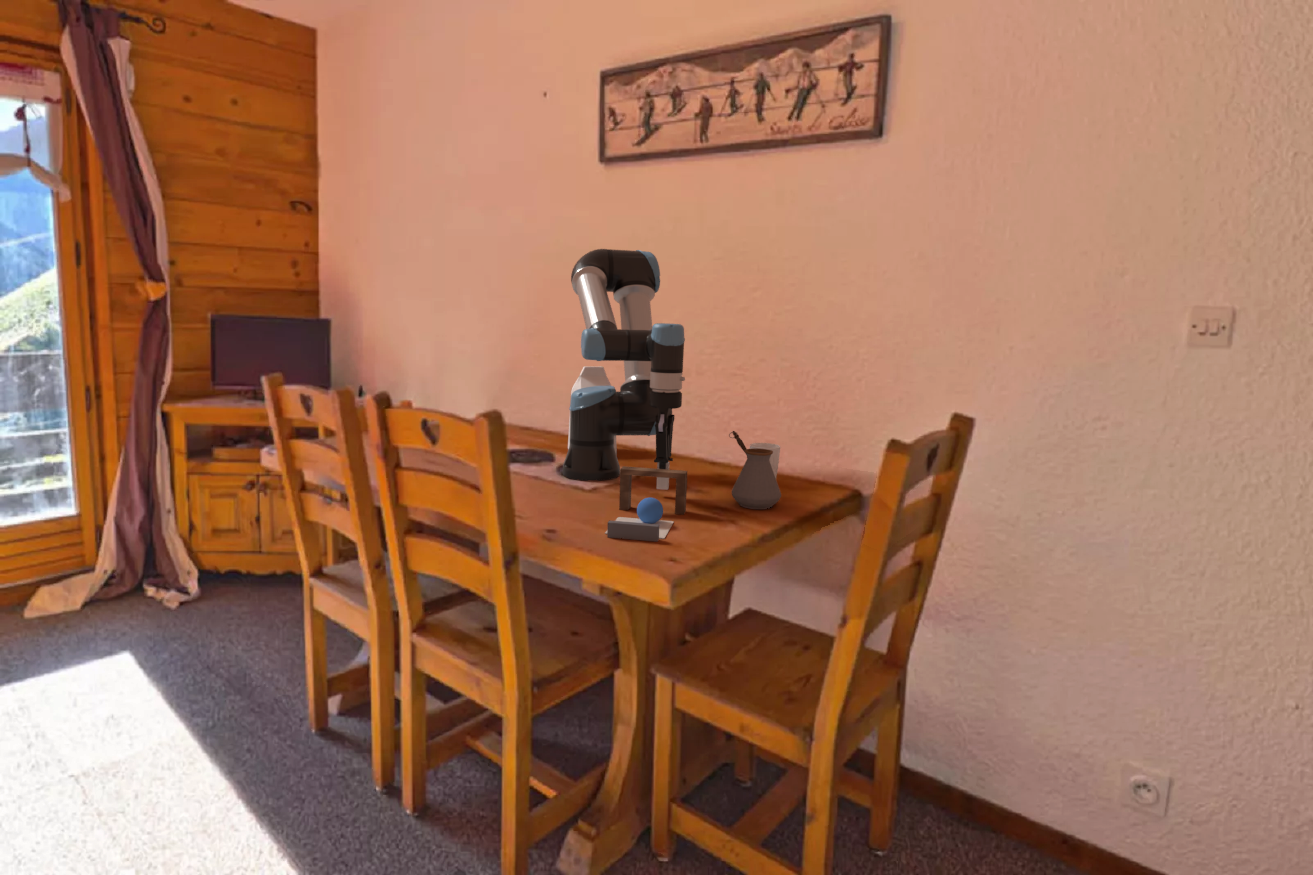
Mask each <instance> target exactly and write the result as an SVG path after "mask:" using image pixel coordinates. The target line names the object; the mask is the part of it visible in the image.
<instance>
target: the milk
mask: <svg viewBox="0 0 1313 875" xmlns="http://www.w3.org/2000/svg"><path fill="white" fill-rule="evenodd" d="M593 386H612V384H611V382H610V379H609V378H608V376H607V373H606V371H605V368H604V366H582V369H581V371H580V373H579V376H578V377H577V379H576V380H575V382H574V384H573V385H572V388H571V391H570V396H571V395H572V393H573V392H574V391H576V390H578V389H581V388H586V387H593ZM569 446H570V418H569V420H568V439H567V450H568V449H569ZM614 449H615V452H616V455H618V450H617V436H614Z"/></svg>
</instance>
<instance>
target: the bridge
mask: <svg viewBox="0 0 1313 875" xmlns="http://www.w3.org/2000/svg"><path fill="white" fill-rule="evenodd" d="M633 476H637V477H651V478H653V477H654V478H657V477H663V478H669V479H675V497H674V498H675V499H674V500H675V501H674V514H675V515H682V516H683V515H684V516H685V514H686V512H687V510H686V509H687V490H688V489H687V488H688V470H681V469H680V470H679V469H669V470H668V469H657V468H655V467H654V468H653V467H652V468H651V467H650V468H649V467H640V466H638V467H637V466H636V467H635V466H626V465H625V466H622V467H620V476H619V500H618V501H619V510H620V511H621V510H623V511H629V509H631V507H632V506H631V505H632V480H633V478H632V477H633Z"/></svg>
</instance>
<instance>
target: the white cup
mask: <svg viewBox="0 0 1313 875" xmlns="http://www.w3.org/2000/svg"><path fill="white" fill-rule="evenodd" d="M753 448H757V449H767V450H772V451H773V454H771V456H770V459H769V461H770V464H771V467H772V470H773V472H774V475H775V478H776V479H777V474H778V470H779V463H780V453H781V445H779V444H776V443H770V442H752V443H750V444H749V449H753Z"/></svg>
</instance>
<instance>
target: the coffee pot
mask: <svg viewBox="0 0 1313 875" xmlns="http://www.w3.org/2000/svg"><path fill="white" fill-rule="evenodd" d="M731 434H732V435H733V437H731V436H730V435H731ZM728 437H729V438H730V439H735V440H736V443H737V444H738V446H739V447H740V448H741V449H742V451H743V452H744V453H745V455H746V461H745V463H744V464H743V467H742V468H741V471H740V473H739V475H738V477H737V478H736V481H735V483H734V485H733V487H732V489H731V496H732V498H733V499H734V501H736V502H737V503H738V505H739V506H740V507H742V508H746V509H751V510H768V509H771V508H772V507H773V506H774V505H777V503H778V502H779V501H780V499H781V497H782V493H781V489H780V487H779V484H778V481H777V477H776V478H775V475H774V472H773V470H772V467H771V464H770V461H769V459H770V456H771V454H773V451H772V450H767V449H757V448H753V449H750V448H747V447H746V445H745V442H743V440H742V438H740V435H739V434H738V432H736V431H735V430H732V432H729V434H728ZM770 507H771V508H770ZM767 508H768V509H767Z"/></svg>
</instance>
